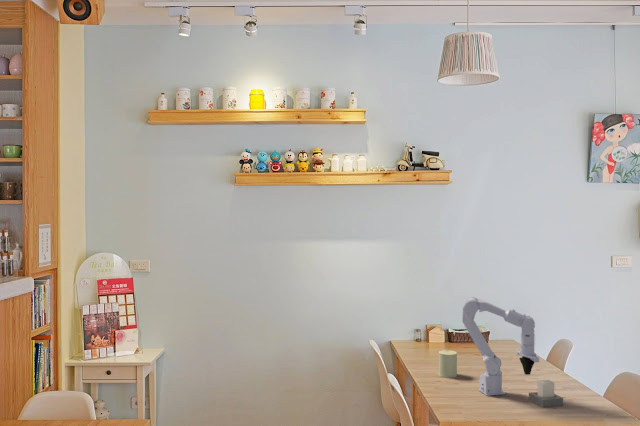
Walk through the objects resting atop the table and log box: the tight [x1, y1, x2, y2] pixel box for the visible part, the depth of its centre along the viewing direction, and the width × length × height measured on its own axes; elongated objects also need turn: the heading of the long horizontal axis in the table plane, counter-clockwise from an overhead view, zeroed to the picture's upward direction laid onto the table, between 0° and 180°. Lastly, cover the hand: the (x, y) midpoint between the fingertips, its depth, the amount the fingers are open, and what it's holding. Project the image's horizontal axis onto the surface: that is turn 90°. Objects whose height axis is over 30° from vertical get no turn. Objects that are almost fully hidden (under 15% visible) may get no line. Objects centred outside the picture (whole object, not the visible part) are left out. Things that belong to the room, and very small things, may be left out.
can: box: [438, 349, 458, 379], centre depth 300 cm, size 9×9×12 cm
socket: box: [528, 391, 564, 408], centre depth 259 cm, size 10×10×3 cm
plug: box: [537, 379, 555, 398], centre depth 259 cm, size 4×6×8 cm
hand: (527, 374), depth 267 cm, fingers closed
